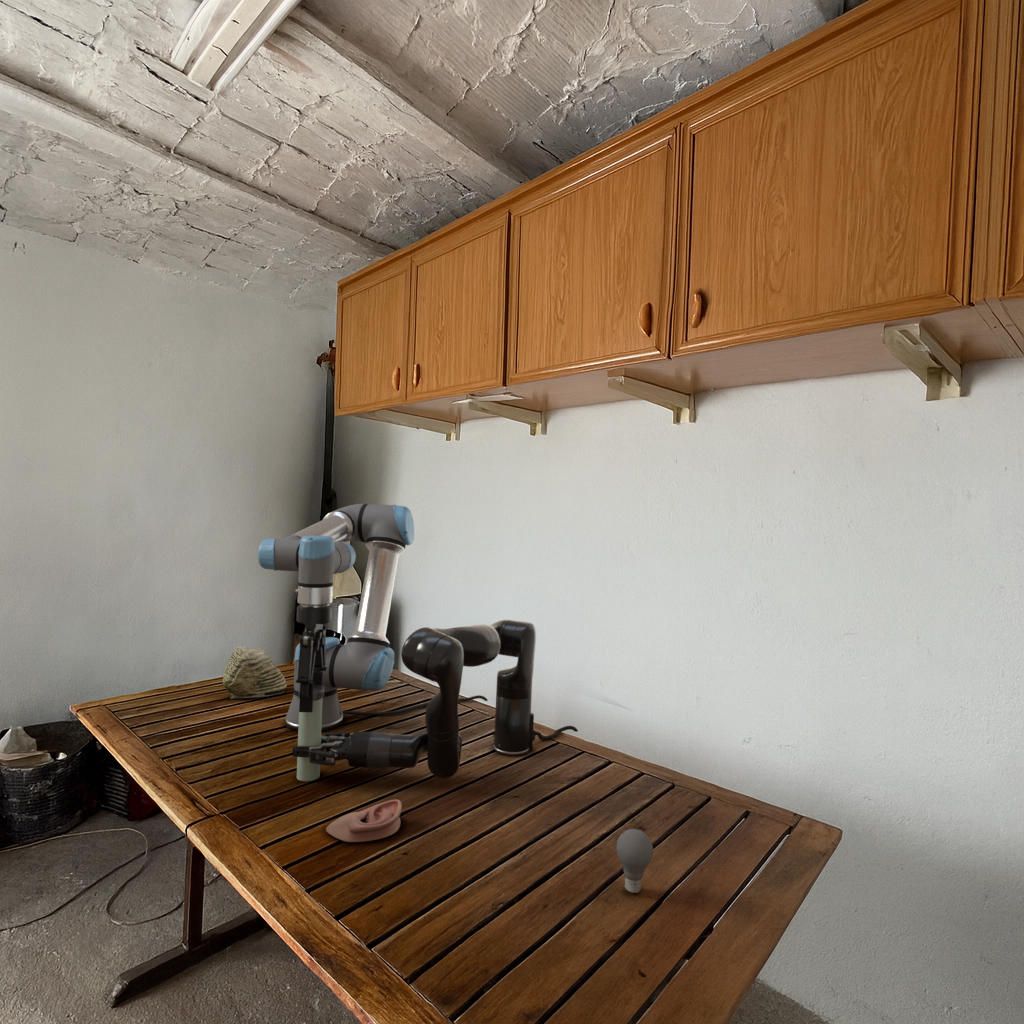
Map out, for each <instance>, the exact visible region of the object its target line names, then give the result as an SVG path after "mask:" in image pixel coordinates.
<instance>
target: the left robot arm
mask: <svg viewBox="0 0 1024 1024" xmlns="http://www.w3.org/2000/svg"><path fill="white" fill-rule="evenodd" d="M414 537H415V523H414V516H413V514H412V512H411V509H410V508H408V507H407V506H405V505H397V504H375V503H356V504H350V505H347V506H344V507H340V508H338V509H335V510H333V511H331V512H328V513H327V514H326V515H325V516H324V517H323V518H322V520H319V521H318V522H316V523H314V524H311V525H309V526H307V527H305V528H302V529H301V530H299V531H297V532H295V533H293V534H290V535H288V536H286V537H284V538H277V537H275V538H266V539H263V540H262V541H261V542H260V544H259V546H258V549H257V562H258V564H259V566H260V567H261V569H265V570H271V571H276V572H277V571H280V572H281V571H282V572H298V581H297V585H298V586H297V589H295V593H296V594H297V603H298V604H299V605H297V606H296V622H297V623H299V624H301V625H304V630H303V631H302V635H300V637H299V643H298V644H297V645H296V647H295V652H294V653H295V654H294V659H293V661H294V672H293V695H292V696H293V697H292V699H291V702H290V704H289V708H288V711H287V713H286V715H285V726H286V728H287V729H289V730H291V731H294V732H295V731H296V732H298V728H299V712H312V711H313V688H314V685H321V686H323V687H324V697H323V701H322V728H321V732H325V731H329V730H332V729H335V728H337V727H339V726H340V725H342V723H343V722H344V715H354V716H391V715H397V714H403V713H406V712H410V711H412V710H413V711H414V710H416V709H420V708H425V707H427V705H428V703H429V702H430V701H428V702H424V703H421V704H416V705H412V706H409V707H406V708H402V709H398V710H391V711H390V710H389V711H355V710H343V709H342V706H341V702H340V699H339V695H338V689H346V690H358V691H364V692H368V691H370V692H371V691H373V692H374V691H375V692H377V691H381V690H382V689H384V688H385V686H386V685H387V684H388V682H389V681H390V678H391V675H392V673H393V670H394V666H395V665H394V664H395V652H394V650H393V649H392V648H391V647H390V645H391V643H390V641H389V639H388V638H387V637H386V636H387V635H386V634H387V629H388V624H389V617H390V611H391V604H392V598H393V593H394V587H395V581H396V575H397V568H398V562H399V558H400V556H401V555H403V554H404V553H405V551H406V546H410V545H412V544H413V541H414V539H415V538H414ZM348 542H356V543H365V548H366V549H367V550H368V551H369V553H368V557H367V563H366V569H365V573H364V579H363V580H364V581H363V585H362V589H361V590H362V591H361V595H360V596H361V597H360V602H359V607H358V612H357V618H356V623H355V628H354V632H353V633H352V634H350V635H349V636H348V637H347V642H346V644H341V641H340V639H339V638H338V637H334V636H326V635H327V634H326V633H327V625H326V624H328V623H331V622H332V619H333V616H332V615H333V606H332V605H331V604H332V603H333V598H334V597H333V594H334V593H333V592H334V575H336V574H337V575H338V574H342V573H345V572H346V571H348V570H350V569H352V568H353V566H354V564H355V562H356V558H357V555H356V551H355V549H354V547H353V546H352V545H351V544H350V543H348ZM299 688H300V699H299V698H298V690H299ZM464 698H465V699H464ZM477 699H480V700H483V701H484V702H488V701H489V699H488V698H486V696H484V695H479V694H478V695H472V696H470V697H463V698H462V697H461V698H459V699H458V703H459V702H469V701H472V700H477ZM299 701H300V703H299Z"/></svg>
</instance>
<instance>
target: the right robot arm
mask: <svg viewBox="0 0 1024 1024" xmlns="http://www.w3.org/2000/svg"><path fill="white" fill-rule="evenodd" d="M537 637H538V636H537V629H536V626H535V624H534V623H533V622H528V621H522V620H513V619H501V620H497V621H495V622H492V623H490V624H487V623H477V624H470V625H463V626H455V627H449V628H438V627H430V626H429V627H428V626H426V627H425V626H424V627H420V628H418V629H415V630H414V631H413V632H412V633H410V634H409V636H407V638H406V639H405V641H404V642H403V645H402V648H401V653H400V657H401V661H402V663H403V665H404V666H405V668H406V669H408V670H409V671H411V672H412V673H414V674H415V675H418V676H420V677H422V678H425V679H426V680H429V681H430V682H433V683H437V685H438V687H439V691H438V692H437V693H436V694H435V695H434V696H433V697H431V699H430V700H429V701H428V702H429V703H428V702H427V703H428V705H427V706H426V708H425V713H424V720H425V729H426V731H424V732H419V733H415V734H397V733H395V734H394V733H388V732H380V731H358V730H356V731H353V732H352V734H351V732H350V731H339V732H338V731H337V732H336V731H335V732H324V733H323V735H322V734H321V745H320V746H312V747H310V746H298V745H294V746H293V747H292V752H291V753H292V757H294V758H297V757H309V759H310V760H309V762H310V763H315V764H320V766H321V765H323V766H328V767H334V766H335V765H336V761H341V760H346V761H347V762H348V766H349V767H351V768H368V769H385V768H396V769H413V768H415V767H416V766H417V764H418V763H419V760H420V758H421V757H422V755H424V754H427V758H426V761H427V767H428V770H429V772H430V773H431V774H432V775H433V776H435V778H437V779H441V780H446V779H450V778H452V777H453V776H455V775H456V774H457V773H458V771H459V768H460V764H461V755H462V746H463V738H462V736H461V734H460V723H459V721H460V720H459V702H458V699H460V694H461V693H460V692H461V686H462V678H463V670H464V667H468V668H472V667H473V668H474V667H479V666H483V665H486V664H489V663H491V662H493V661H494V660H495V659H496V658H498V656H499V655H500V656H505V657H512V658H517V662H516V664H515V665H512V666H507V667H503V668H501V669H499V670H498V671H497V673H496V691H495V695H496V696H495V712H494V713H495V715H494V731H493V732H492V738H493V750H494V751H495V752H496V753H498V754H501V755H505V756H521V755H525V754H527V753H529V752H532V751H533V745H534V744H533V743H534V741H536V736H537V737H538V739H539V740H540V741H549V740H552V739H554V738H557V736H558V734H560V733H563V732H565V731H569V730H572V731H573V732H579V730H578V728H576V726H573V725H566V726H563V727H560V728H558V729H556V730H554V732H553V733H552V734H549V735H542V733H541V732H539V731H537V730H536V729H534V725H535V724H534V723H535V714H534V713H533V712H532V697H533V678H534V673H535V660H536V659H535V658H536V650H537ZM319 750H321V751H319Z"/></svg>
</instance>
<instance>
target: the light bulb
mask: <svg viewBox="0 0 1024 1024" xmlns="http://www.w3.org/2000/svg"><path fill="white" fill-rule="evenodd" d="M615 849H616V854H617V857H618V859H619V861H620V863H621V865H622V867H623V873H624V874H623V875H624V876H625V878H624V888H625V890H627V891H628V892H630V893H634V894H635V893H639V892H640V891H641V889H642V887H641V886H642V879H643V877H644V875H645V871H646V868H647V867H648V866H649V864H650V863H651V861H652V859H653V855H654V847H653V843H652V841H651V838H649V836H648V835H647V834H646V833H645V832H643V831H642V830H641V829H636V828H629V829H627V830H625V831H623V832H622V833H621V834H620V835H619V837H618V839H617V841H616V847H615Z"/></svg>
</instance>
